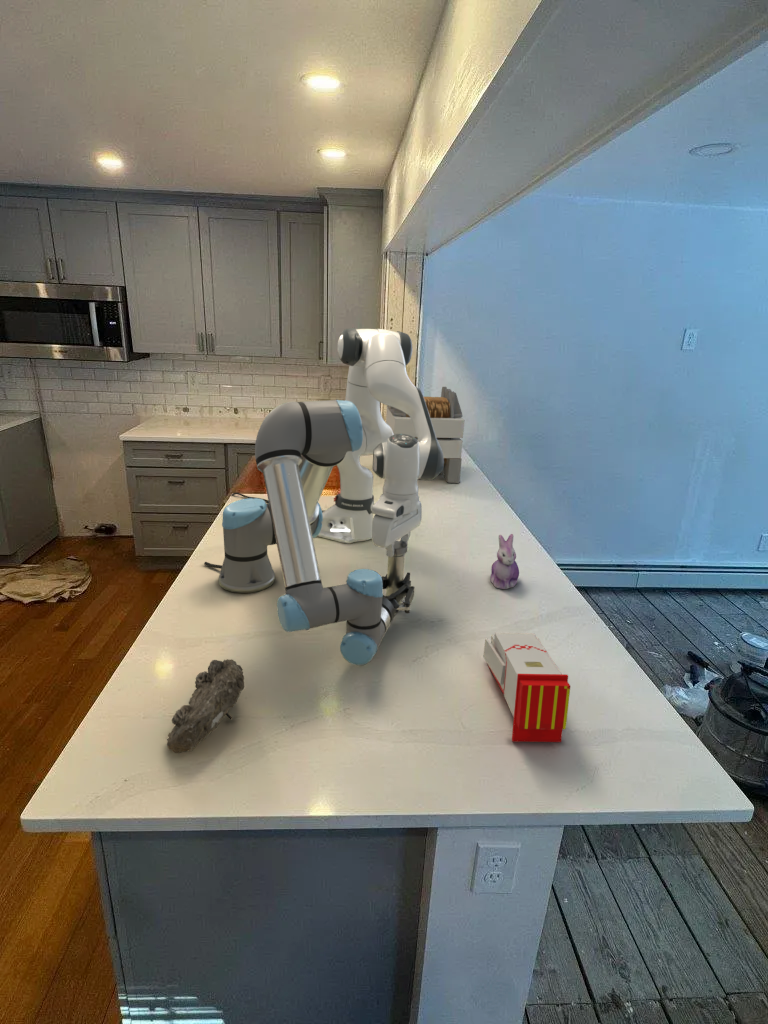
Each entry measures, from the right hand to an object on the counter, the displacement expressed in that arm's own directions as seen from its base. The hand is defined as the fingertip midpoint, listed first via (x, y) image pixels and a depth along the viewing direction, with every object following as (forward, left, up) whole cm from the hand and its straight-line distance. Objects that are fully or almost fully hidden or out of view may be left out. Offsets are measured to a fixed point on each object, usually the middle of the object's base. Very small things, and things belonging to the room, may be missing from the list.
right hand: (396, 551), depth 146 cm
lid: (0, 0, +2) cm, 2 cm away
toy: (+34, -27, -16) cm, 47 cm away
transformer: (-22, +130, -16) cm, 133 cm away
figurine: (+27, +25, -16) cm, 40 cm away
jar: (0, 0, -16) cm, 16 cm away
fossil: (-22, -53, -16) cm, 60 cm away
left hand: (0, +5, -9) cm, 11 cm away
